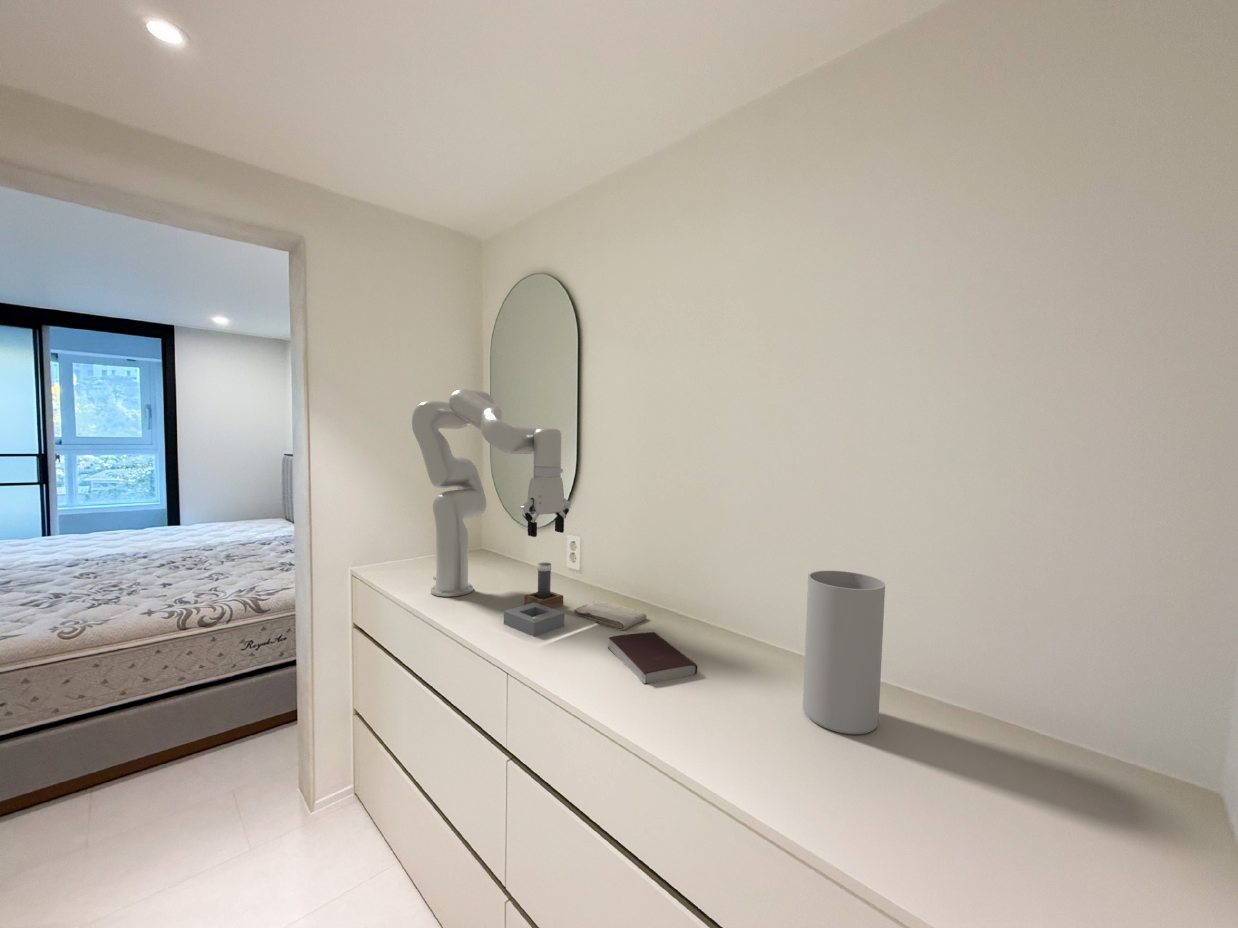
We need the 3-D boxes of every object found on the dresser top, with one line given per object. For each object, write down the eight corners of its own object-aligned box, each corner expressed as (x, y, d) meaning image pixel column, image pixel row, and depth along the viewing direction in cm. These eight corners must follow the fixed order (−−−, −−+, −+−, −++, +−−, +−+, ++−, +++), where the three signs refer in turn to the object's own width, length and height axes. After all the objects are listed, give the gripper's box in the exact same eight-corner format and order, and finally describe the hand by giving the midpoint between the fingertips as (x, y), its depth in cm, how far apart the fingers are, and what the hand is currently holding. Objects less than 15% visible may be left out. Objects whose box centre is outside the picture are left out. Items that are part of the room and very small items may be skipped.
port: (503, 626, 134) (503, 609, 134) (533, 616, 141) (534, 600, 141) (533, 638, 126) (533, 620, 126) (563, 627, 133) (564, 611, 133)
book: (655, 642, 126) (655, 629, 126) (697, 676, 109) (698, 661, 109) (607, 650, 121) (607, 636, 121) (644, 687, 104) (644, 671, 104)
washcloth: (596, 607, 152) (596, 596, 152) (648, 620, 142) (648, 609, 142) (570, 618, 142) (570, 606, 142) (623, 633, 132) (624, 621, 132)
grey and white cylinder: (534, 605, 149) (534, 564, 148) (544, 602, 152) (545, 561, 151) (543, 608, 146) (543, 566, 146) (553, 605, 149) (554, 564, 149)
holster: (524, 607, 149) (524, 595, 149) (545, 601, 155) (545, 589, 155) (542, 613, 144) (542, 601, 144) (563, 607, 150) (563, 595, 149)
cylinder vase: (849, 697, 101) (855, 569, 99) (894, 733, 88) (901, 588, 87) (789, 701, 98) (795, 571, 97) (827, 739, 86) (833, 590, 85)
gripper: (561, 471, 153) (560, 528, 154) (513, 473, 140) (512, 535, 141) (579, 472, 148) (578, 532, 149) (530, 475, 135) (529, 540, 136)
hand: (546, 534), depth 145 cm, fingers open, 9 cm apart
